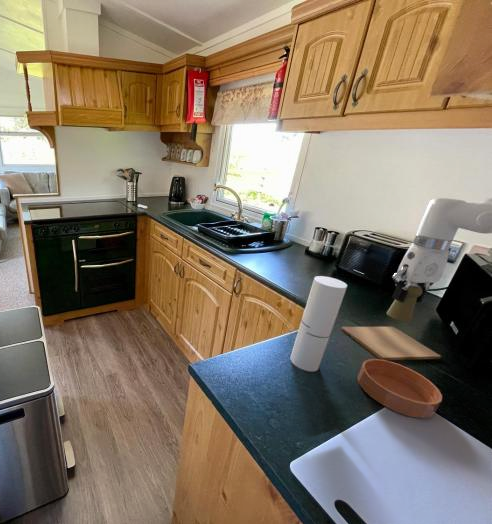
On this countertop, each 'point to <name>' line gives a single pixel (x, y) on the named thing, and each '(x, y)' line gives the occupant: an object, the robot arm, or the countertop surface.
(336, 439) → the countertop surface
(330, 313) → the cylindrical container
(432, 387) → the terracotta dish
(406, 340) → the cutting board
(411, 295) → the pepper shaker
